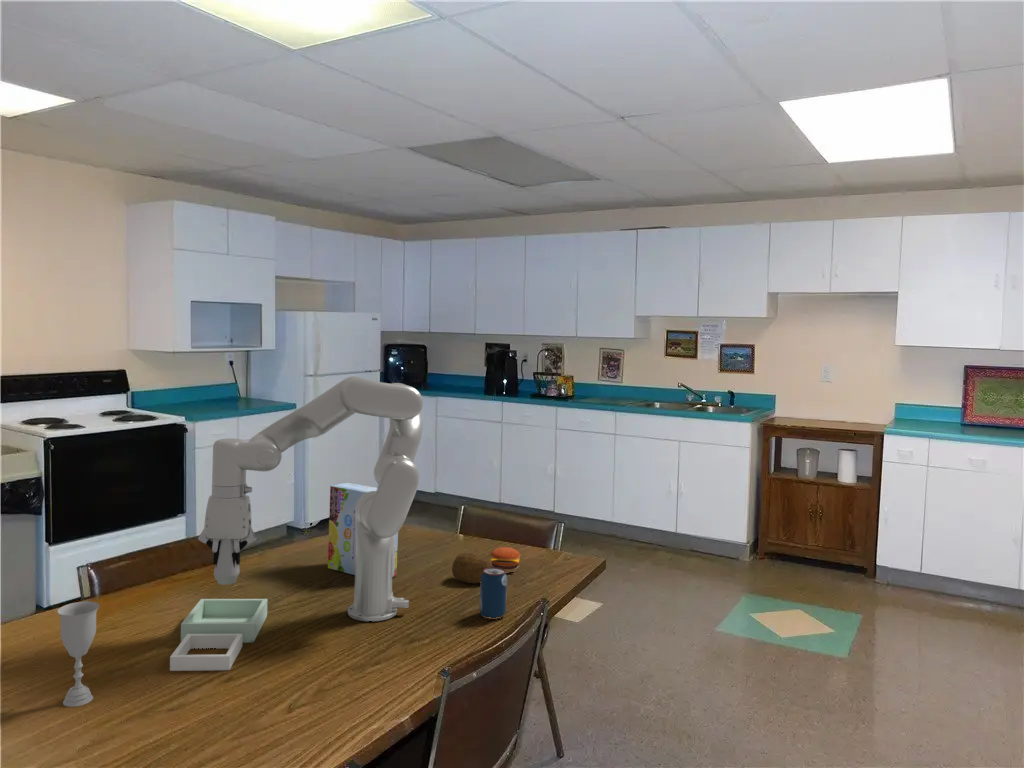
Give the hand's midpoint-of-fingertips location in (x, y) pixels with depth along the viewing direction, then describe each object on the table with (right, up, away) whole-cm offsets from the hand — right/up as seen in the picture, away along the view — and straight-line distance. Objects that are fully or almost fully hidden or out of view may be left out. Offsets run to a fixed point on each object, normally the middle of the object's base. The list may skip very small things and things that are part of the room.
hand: (226, 566), depth 178 cm
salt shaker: (0, -4, 0) cm, 4 cm away
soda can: (+63, -17, +17) cm, 67 cm away
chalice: (-15, -17, -35) cm, 42 cm away
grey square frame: (+1, -16, -15) cm, 22 cm away
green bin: (-1, -15, +1) cm, 15 cm away
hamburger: (+66, -15, +57) cm, 88 cm away
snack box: (+23, -14, +47) cm, 54 cm away
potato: (+56, -15, +43) cm, 72 cm away
